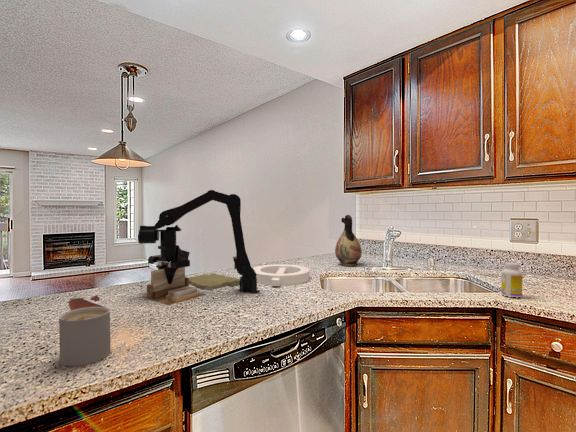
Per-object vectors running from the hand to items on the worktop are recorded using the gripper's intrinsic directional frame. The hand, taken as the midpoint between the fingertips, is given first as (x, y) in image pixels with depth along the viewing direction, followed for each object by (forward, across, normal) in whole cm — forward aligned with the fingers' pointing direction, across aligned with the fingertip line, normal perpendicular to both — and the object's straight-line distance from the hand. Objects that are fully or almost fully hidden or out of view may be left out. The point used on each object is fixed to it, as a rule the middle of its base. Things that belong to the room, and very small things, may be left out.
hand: (168, 283), depth 125 cm
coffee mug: (+5, -26, +40) cm, 48 cm away
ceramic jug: (+5, -28, -102) cm, 106 cm away
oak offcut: (+4, -8, 0) cm, 9 cm away
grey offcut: (+2, -8, 0) cm, 9 cm away
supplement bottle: (+5, -108, -77) cm, 132 cm away
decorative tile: (+6, +1, -22) cm, 23 cm away
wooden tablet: (+6, +11, +24) cm, 27 cm away
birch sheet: (+4, 0, 0) cm, 4 cm away
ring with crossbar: (+6, -16, -50) cm, 53 cm away
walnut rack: (+5, -4, 0) cm, 6 cm away
